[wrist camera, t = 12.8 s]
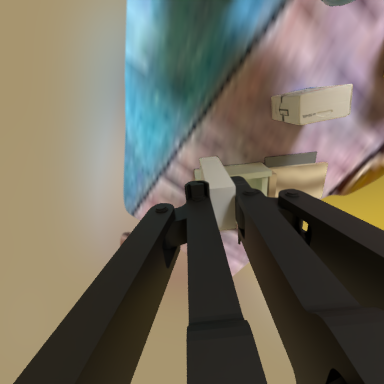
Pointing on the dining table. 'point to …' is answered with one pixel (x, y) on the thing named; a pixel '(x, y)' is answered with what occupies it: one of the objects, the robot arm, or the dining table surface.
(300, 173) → the cover plate
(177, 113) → the dining table surface
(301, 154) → the rubber mat
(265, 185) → the sage box
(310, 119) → the ink box
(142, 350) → the robot arm
